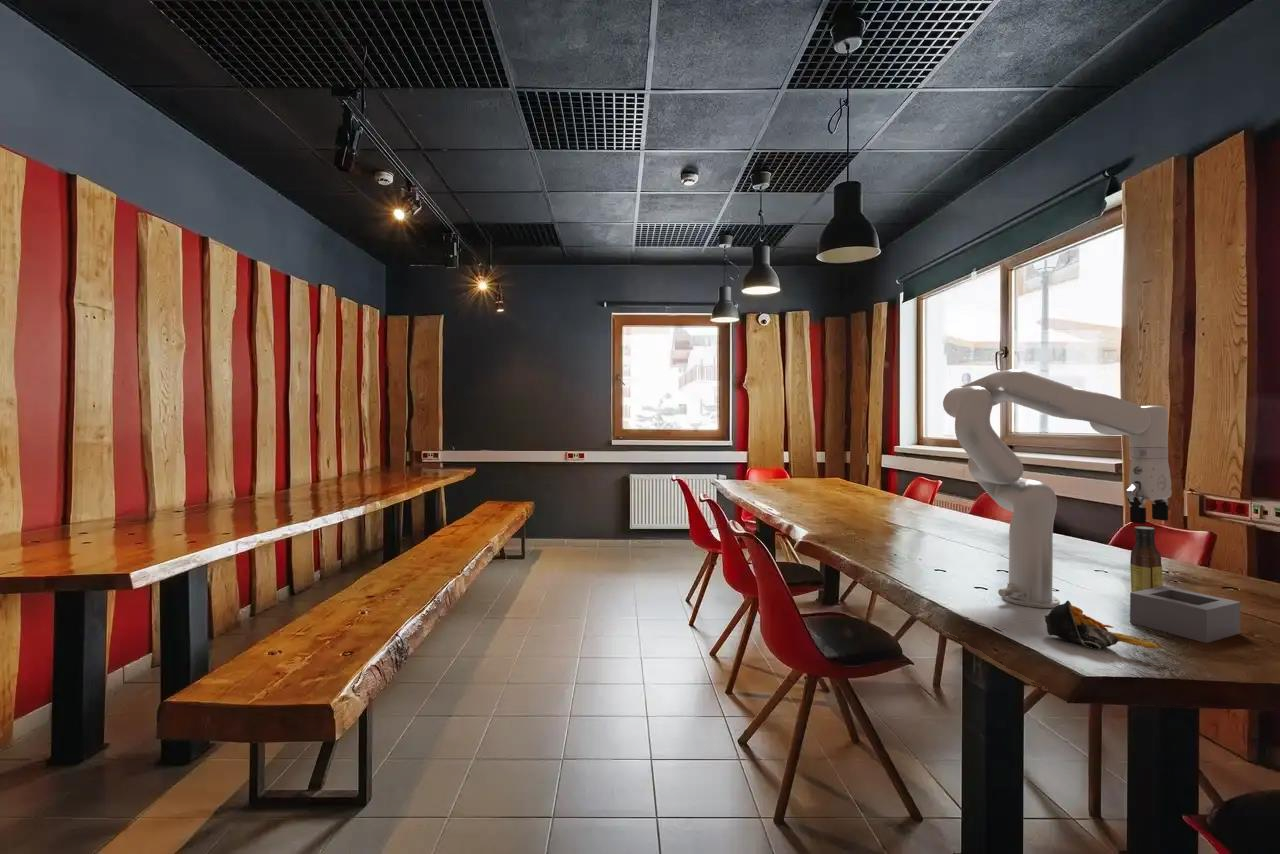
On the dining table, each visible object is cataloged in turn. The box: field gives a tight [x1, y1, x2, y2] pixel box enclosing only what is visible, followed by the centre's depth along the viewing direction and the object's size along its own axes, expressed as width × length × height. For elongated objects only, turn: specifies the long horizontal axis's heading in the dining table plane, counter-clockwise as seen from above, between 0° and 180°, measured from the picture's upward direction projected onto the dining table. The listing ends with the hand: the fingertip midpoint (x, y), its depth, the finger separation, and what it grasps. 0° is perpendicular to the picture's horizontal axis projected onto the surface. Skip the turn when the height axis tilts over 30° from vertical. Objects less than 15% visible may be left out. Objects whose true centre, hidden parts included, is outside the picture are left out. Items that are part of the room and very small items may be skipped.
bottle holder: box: [1129, 585, 1241, 644], centre depth 135 cm, size 14×14×7 cm
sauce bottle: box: [1129, 526, 1164, 593], centre depth 152 cm, size 7×6×20 cm
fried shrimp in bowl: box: [1044, 600, 1162, 650], centre depth 124 cm, size 9×11×18 cm
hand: (1149, 521), depth 152 cm, fingers open, 9 cm apart
